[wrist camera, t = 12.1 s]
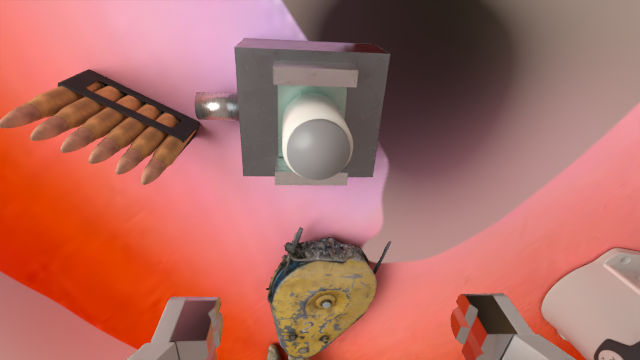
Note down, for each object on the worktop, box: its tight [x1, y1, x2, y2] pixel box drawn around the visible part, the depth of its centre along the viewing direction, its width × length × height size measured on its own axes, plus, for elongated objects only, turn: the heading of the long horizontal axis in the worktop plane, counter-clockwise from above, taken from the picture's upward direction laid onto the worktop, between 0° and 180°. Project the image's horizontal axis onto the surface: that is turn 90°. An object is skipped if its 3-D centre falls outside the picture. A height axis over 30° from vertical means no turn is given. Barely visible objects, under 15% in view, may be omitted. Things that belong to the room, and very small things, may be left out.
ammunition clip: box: [0, 70, 200, 185], centre depth 27 cm, size 11×2×12 cm, turn 60°
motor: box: [195, 38, 390, 185], centre depth 29 cm, size 16×11×9 cm
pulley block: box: [266, 227, 391, 360], centre depth 46 cm, size 14×6×30 cm
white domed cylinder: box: [282, 93, 353, 180], centre depth 25 cm, size 5×5×6 cm
